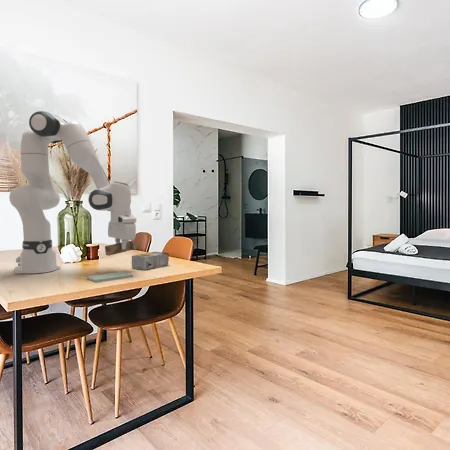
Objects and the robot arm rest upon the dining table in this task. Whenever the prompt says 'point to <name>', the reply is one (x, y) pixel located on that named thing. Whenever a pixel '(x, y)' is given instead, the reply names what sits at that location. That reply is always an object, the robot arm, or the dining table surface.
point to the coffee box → (150, 260)
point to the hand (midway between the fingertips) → (121, 248)
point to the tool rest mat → (109, 276)
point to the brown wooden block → (119, 248)
